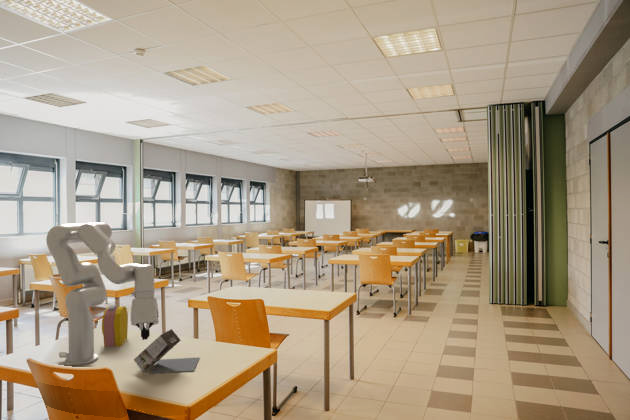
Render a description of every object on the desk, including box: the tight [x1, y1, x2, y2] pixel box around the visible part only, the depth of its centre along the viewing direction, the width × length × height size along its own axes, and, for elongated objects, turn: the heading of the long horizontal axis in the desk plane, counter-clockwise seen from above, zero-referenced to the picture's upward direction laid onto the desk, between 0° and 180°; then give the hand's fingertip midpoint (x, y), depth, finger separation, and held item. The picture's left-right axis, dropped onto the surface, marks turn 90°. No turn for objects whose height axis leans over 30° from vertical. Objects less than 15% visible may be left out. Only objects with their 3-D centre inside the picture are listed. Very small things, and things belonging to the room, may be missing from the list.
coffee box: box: [133, 329, 181, 372], centre depth 171 cm, size 9×6×16 cm
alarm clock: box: [101, 304, 129, 348], centre depth 206 cm, size 15×8×18 cm, turn 10°
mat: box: [149, 357, 200, 375], centre depth 174 cm, size 17×15×1 cm
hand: (145, 338), depth 173 cm, fingers closed
